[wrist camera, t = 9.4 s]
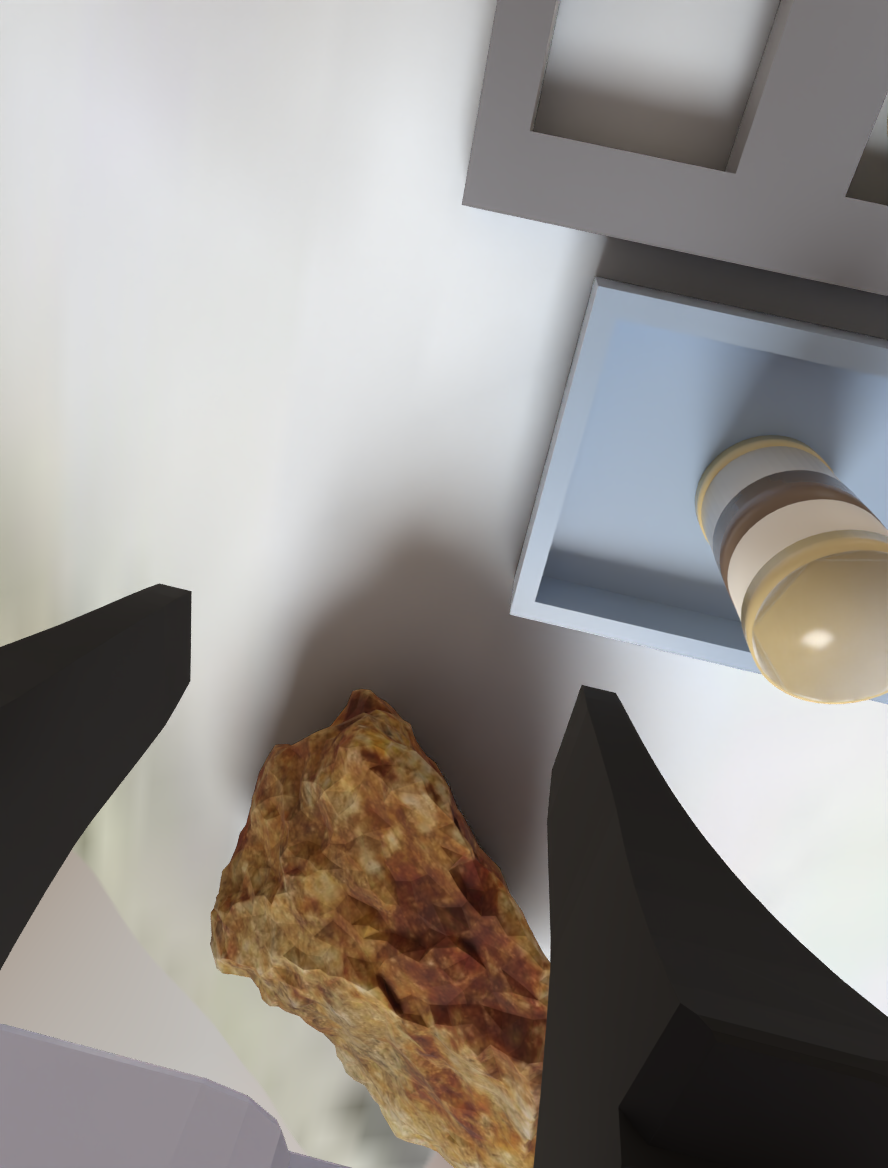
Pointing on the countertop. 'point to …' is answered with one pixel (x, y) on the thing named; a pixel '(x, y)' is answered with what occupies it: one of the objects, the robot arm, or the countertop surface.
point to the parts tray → (683, 459)
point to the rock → (391, 936)
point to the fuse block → (697, 194)
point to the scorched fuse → (800, 568)
